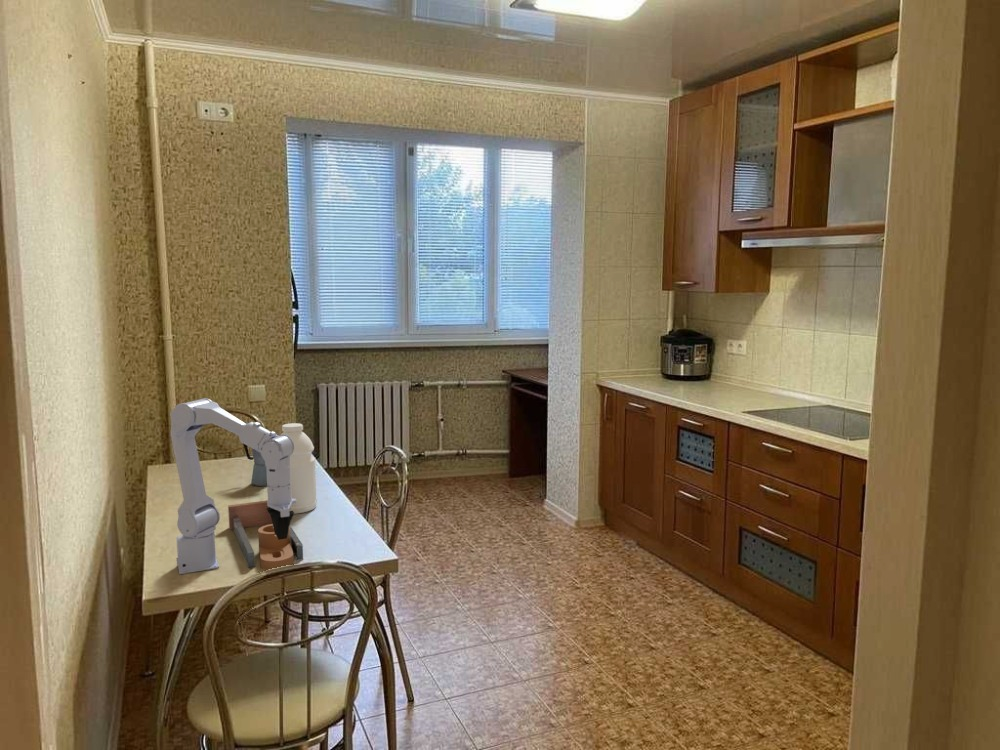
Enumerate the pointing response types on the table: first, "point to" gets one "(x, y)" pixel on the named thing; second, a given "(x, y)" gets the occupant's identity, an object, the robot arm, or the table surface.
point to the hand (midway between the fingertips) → (281, 536)
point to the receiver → (255, 516)
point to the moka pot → (257, 468)
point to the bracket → (274, 548)
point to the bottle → (301, 469)
